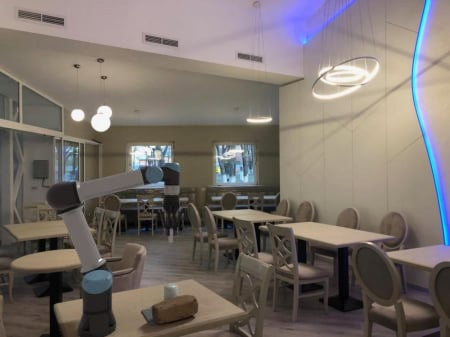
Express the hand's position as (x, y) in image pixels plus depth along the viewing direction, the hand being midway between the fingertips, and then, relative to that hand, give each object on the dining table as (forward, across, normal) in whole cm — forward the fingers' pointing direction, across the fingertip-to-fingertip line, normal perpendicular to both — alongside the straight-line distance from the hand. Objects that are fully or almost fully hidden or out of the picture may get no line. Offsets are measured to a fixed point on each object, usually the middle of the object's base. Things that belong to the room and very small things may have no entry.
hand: (170, 242), depth 165 cm
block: (+27, +9, -10) cm, 30 cm away
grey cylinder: (+32, +3, +7) cm, 33 cm away
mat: (+32, -4, -6) cm, 33 cm away
